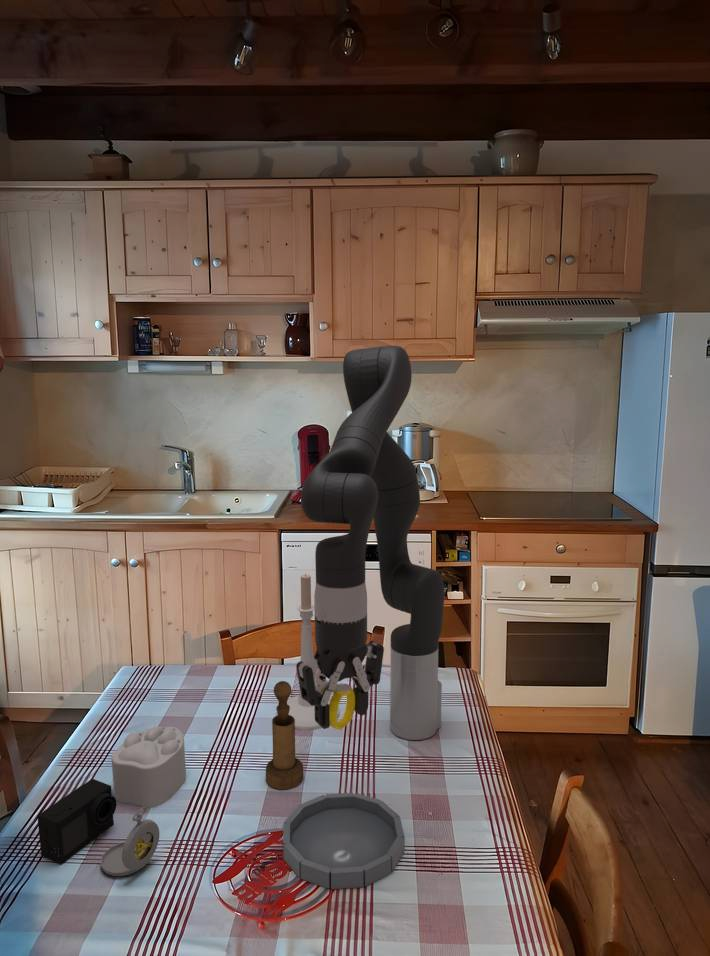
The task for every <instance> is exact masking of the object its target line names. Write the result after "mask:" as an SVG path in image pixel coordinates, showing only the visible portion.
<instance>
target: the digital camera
mask: <svg viewBox="0 0 710 956" xmlns="http://www.w3.org/2000/svg"><path fill="white" fill-rule="evenodd" d="M116 809H117V801H116V798H115V797H114V795H113V794H112V786H111V785H110V784H108V783H105V782H103V781H99V780H97V779H95V778H92V779H90V780H88V781H87V782H85V783H84V784H82V785H80V786H79V787H77V788H76V789H74V790H72V791H71V792H70V793H68V794H67V795H66V796H63V798H61V799H59V800H57V801H56V802H55V803H53V804H52V805H51V806H49V807H48V808H46V809H45V810H43V811H42V812H40V813H39V814H37V826H38V828H37V829H38V836H39V846H40V847H39V848H40V855H41V857H43V858H44V859H47V860H50V861H51V862H53V863H55V864H57V865H59V866H62V865H63V864H65V862H68V860H70V859H71V858H72V857H74V856H75V855H76V854H77V853H79V852H80V851H81V850H83V849H84V848H86V846H88V845H89V844H91V843H92V842H93V841H94V840H96V839H97V838H98V837H101V836H102V835H103V834H104V833H105V832H106V831H108V830H109V829H110V828H112V827H113V826H114V823H115V822H114V821H115V820H114V815H115V812H116Z"/></svg>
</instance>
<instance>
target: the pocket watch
mask: <svg viewBox="0 0 710 956" xmlns="http://www.w3.org/2000/svg"><path fill="white" fill-rule="evenodd" d="M141 811H143V812H142V813H140V812H141ZM146 811H147V808H146V807H141V808H140V809H138V810H137V811H136V813H134V814H133V817H132V821H133V822H136V823H137V824H135V826H134V827H132V829H131V830H130V831H129V833H128V834H127V837H126V839H125V841H124V842H120V843H118V844H115V845H113V846H111V847H109V848H108V849H107V850H106V851H105V852H104V853H103V855H102V857H101V858H100V859H101V860H100V867H101V869H102V871H103V872H104V873H106V874H107V875H110V876H113V877H124V876H127V875H132V874H133V873H136V872H137V871H139V870H140V869H142V868H143V867H145V866H146V865H147V864H148V863H149V862H150V860H151V859H152V858H153V855H154V854H155V852H156V851H157V848H158V845H159V842H160V828H159V826H158V824H157V823H156V821H154V820H151V819H143V816H144V815H145V813H146ZM142 819H143V820H142Z"/></svg>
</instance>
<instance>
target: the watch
mask: <svg viewBox="0 0 710 956" xmlns="http://www.w3.org/2000/svg"><path fill="white" fill-rule="evenodd" d="M332 693H333V694H332V696H331V697H330V704H329V724H330V725H329V727H330V728H333V729H336V730H339V731H341V730H343V729H344V728H345V727H346V726H347V725H348V724H349V723H350V722H351V721H352V718H353V716H354V713H355V703H356V700H355V693H354V688H352V685H350V684H347V683H337V685H336V688H335V690H334V691H332ZM344 696H346V704H345V711H344V713H343V714H342V715H343V716H342V718H340V719H339V720H338V718H337V711H338V707H339V706H340V702H341V700H342V698H343V697H344Z"/></svg>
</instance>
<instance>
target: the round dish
mask: <svg viewBox="0 0 710 956" xmlns="http://www.w3.org/2000/svg"><path fill="white" fill-rule="evenodd" d="M282 829H283V833H282V834H283V836H282V850H283V851H282V853H283V855H282V856H283V860H284V862H286V864H287V866H289V867H290V869H291V870H292V871H293V872H294V874H296V876H297V877H298V878H300V879H301V880H303V881H305V882H309V883H311V884H314V885H317V886H320V887H323V888H325V889H327V890H329V889H331V890H341V889H354V888H357V889H358V888H364V886H365V887H367V886H369V885H372V884H373V883H376V882H378V881H379V880H381V879H383V878H386V877H387V876H389V875H391V874H392V873H393V872H394V871H395V868H396V867H397V865H398V863H399V862H400V860H401V859H402V857H403V855H404V853H405V833H404V829H403V823H402V819H401V816H400V815H399V814H398V813H397V812H396V811H394V810H393V809H392V808H391V807H390V806H389V805H387V804H386V803H385V802H384V801H383V800H381V799H378V798H376V797H375V798H374V797H372V796H368V795H364V794H360V793H357V792H342V793H341V792H340V793H339V792H338V793H326V794H322V795H320V796H317V797H315V798H313V799H310V800H308V801H305V802H302V803H300V805H297V807H296V808H295V809H294V810H293V812H292V813H290V815H289V816H288V817H287V818H286V819H285V821H284V822H283V828H282Z"/></svg>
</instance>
